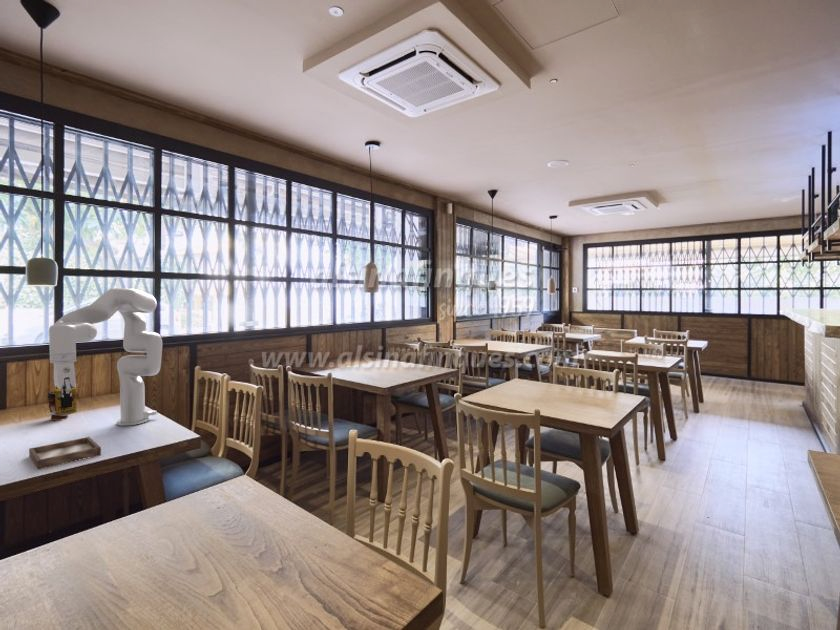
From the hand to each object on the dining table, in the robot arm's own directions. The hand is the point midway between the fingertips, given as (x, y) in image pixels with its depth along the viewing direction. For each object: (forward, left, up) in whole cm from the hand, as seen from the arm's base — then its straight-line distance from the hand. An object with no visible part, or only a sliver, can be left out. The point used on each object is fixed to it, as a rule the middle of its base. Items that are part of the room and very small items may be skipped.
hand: (64, 405), depth 160 cm
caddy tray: (0, 0, -19) cm, 19 cm away
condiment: (0, -1, -3) cm, 3 cm away
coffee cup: (-8, -59, -19) cm, 63 cm away
